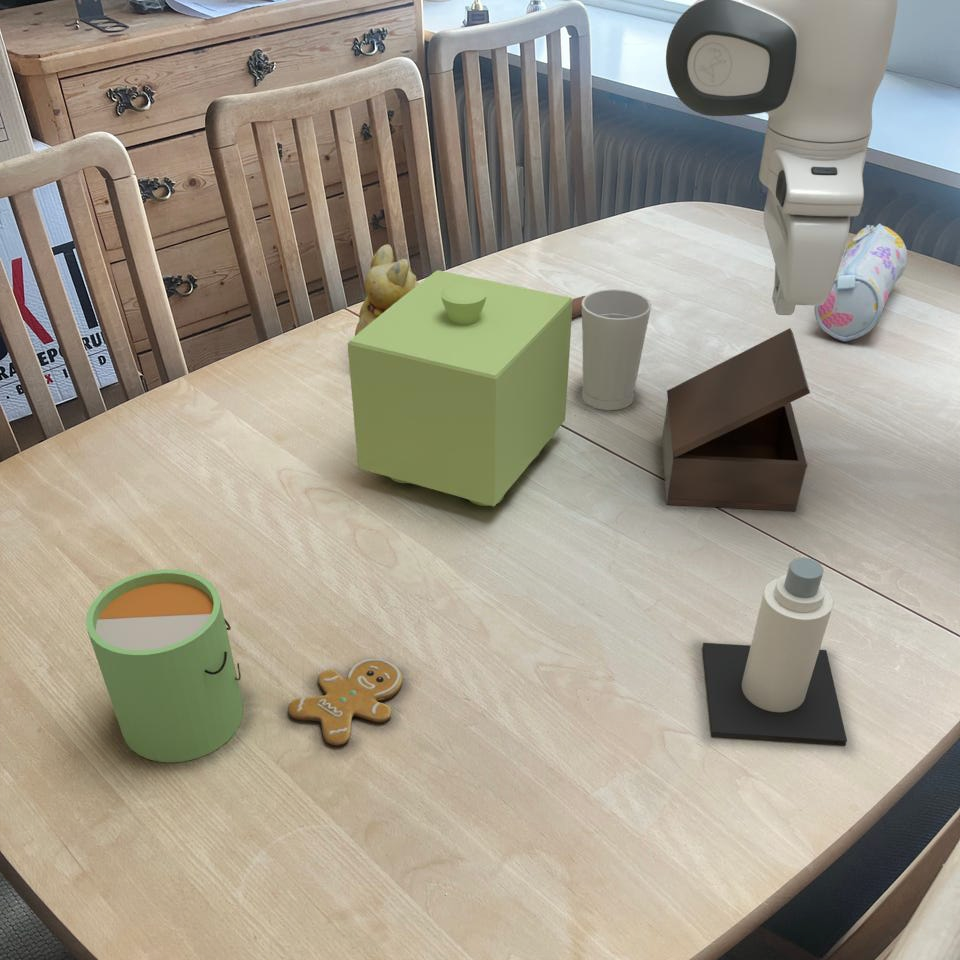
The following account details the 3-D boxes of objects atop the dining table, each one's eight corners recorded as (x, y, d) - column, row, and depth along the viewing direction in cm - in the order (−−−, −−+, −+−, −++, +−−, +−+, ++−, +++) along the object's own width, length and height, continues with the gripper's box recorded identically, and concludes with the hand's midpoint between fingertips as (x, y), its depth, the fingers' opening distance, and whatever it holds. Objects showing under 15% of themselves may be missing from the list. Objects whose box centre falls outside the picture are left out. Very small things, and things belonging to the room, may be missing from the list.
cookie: (275, 700, 89) (360, 639, 94) (276, 708, 89) (360, 647, 95) (342, 749, 85) (427, 682, 90) (343, 756, 85) (427, 690, 91)
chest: (780, 447, 120) (791, 402, 116) (795, 511, 111) (807, 465, 107) (661, 441, 121) (667, 396, 117) (666, 504, 112) (673, 458, 108)
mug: (242, 758, 85) (218, 651, 77) (111, 766, 85) (73, 658, 77) (254, 653, 95) (234, 547, 86) (137, 659, 94) (105, 553, 86)
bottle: (800, 670, 92) (836, 548, 83) (809, 714, 88) (847, 591, 79) (738, 666, 93) (767, 544, 83) (744, 710, 89) (775, 587, 79)
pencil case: (839, 279, 154) (854, 214, 147) (899, 291, 151) (918, 224, 144) (804, 338, 140) (820, 269, 134) (870, 352, 137) (890, 282, 131)
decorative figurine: (435, 373, 133) (432, 257, 123) (379, 392, 129) (371, 274, 119) (396, 344, 139) (389, 230, 128) (341, 361, 135) (330, 246, 125)
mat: (825, 654, 95) (826, 649, 94) (845, 745, 86) (847, 740, 86) (702, 647, 95) (703, 642, 95) (711, 736, 87) (712, 731, 87)
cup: (630, 378, 132) (640, 286, 124) (648, 410, 126) (660, 316, 118) (568, 383, 131) (574, 291, 123) (584, 416, 125) (591, 321, 117)
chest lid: (793, 333, 111) (790, 327, 110) (810, 393, 101) (807, 386, 101) (669, 396, 117) (666, 390, 116) (675, 457, 108) (672, 451, 107)
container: (440, 406, 127) (435, 242, 113) (564, 438, 121) (575, 270, 108) (359, 487, 114) (343, 313, 100) (494, 526, 109) (497, 348, 95)
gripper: (763, 124, 101) (740, 263, 111) (790, 202, 86) (760, 356, 96) (830, 125, 101) (800, 265, 110) (868, 204, 86) (830, 359, 95)
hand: (782, 308), depth 103 cm, fingers closed
